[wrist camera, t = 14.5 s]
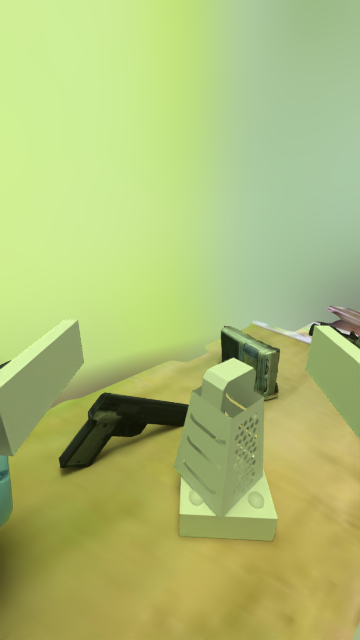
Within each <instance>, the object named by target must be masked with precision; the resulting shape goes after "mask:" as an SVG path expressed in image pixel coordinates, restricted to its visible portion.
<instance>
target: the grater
mask: <svg viewBox="0 0 360 640" xmlns="http://www.w3.org/2000/svg"><path fill="white" fill-rule="evenodd" d="M255 378H256V371H255V369H254V368H253V367H251V366H249V365H247V364H245V363H243V362H241V361H239V360H237V359H235V358H232V359H229V360H227V361H225V362H223V363H221V364H219V365H216V366H214V367H212V368H210V369H208V370H207V372H206V373H205V375H204V377H203V381H202V386H201V387H199V388H197V389H195V390H193V391H192V395H191V399H190V403H189V407H188V411H187V415H186V420H185V424H184V428H183V432H182V436H181V440H180V444H179V449H178V453H177V457H176V461H175V465H174V468H175V469H176V470H177V471H178V472H179V473H180V474H181V476H182V477H183V478H184V479H185V480H186V481H187V482H188V483H189V484H190V486H191V487H192V488H193V489H194V490H195V491H196V492H197V493H198V494H199V496H200V497H201V498H202V499H203V500H204V501H205V502H206V503H207V504H208V506H209V507H210V508H211V509H212V510H213V511H214V512H215V513H216V514H217V516H218V517H219V518H220V519H221V518H222V517H223V516H224V515H225V514H226V513H227V512H228V511H229V510H230V509H231V508H232V507H233V506H234V505H235V504H236V503H237V502H238V501H239V500H240V499H241V498H242V497H243V496H244V495H245V494H246V493H247V492H248V491H249V490H250V489H251V488H252V487H253V486H254V485H255V484H256V483H257V482H258V481H259V480H260V479H261V478H262V477H263V432H264V397H263V396H261V395H260V394H258V393H256V392H255V391H253V390H254V384H255ZM226 393H227V394H228V396H229V397H230V398H231V399H233V400H234V401H236V402H237V403H239V404H240V405H242V406H243V407H245V408H246V410H243V409H241V408H240V407H238V406H237V405H235V404H234V403H232V402H231V401H229V399H228V398H227V397H226ZM225 411H226V413H227V414H228V415H229V417H231V418H232V419H231V418H229V417H228V416H226V415H225ZM240 424H241V425H242V428H240V427H239V425H240ZM246 429H248V432H246ZM249 432H252V433H251V435H250V434H249ZM255 434H258V435H257V438H255V437H254V436H255ZM214 438H217V439H218V440H220V441H221V442H222V443H223V444H224V445H225V446H223V445H220V444H218V443H217V442H216V441H215V440H214ZM238 444H240V445H238ZM241 446H242V447H243V449H241V448H240V447H241ZM199 449H200V450H201V451H202V452H203V453H204V454H205V455H206V456H207V457H208V458H209V459H211V460H212V461H213V462H214V463H215V464H219V465H221V469H220V470H218V469H216V468H214V467H213V466H212V465H211V464H210V463H209V462H208V461H207V460H206V459H205V458H204V457H203V456H202V455H200V454H199V453H198V452H197V450H199ZM244 450H246V452H245V451H244ZM249 452H250V453H251V455H249ZM234 453H235V454H236V455H234ZM252 455H254V458H253V457H252ZM237 456H239V457H240V459H242V463H241V464H240V465H239V461H240V459H238V460H237ZM184 460H185V461H186V463H187V465H188V466H189V467H190V468H191V469H192V470H193V471H194V472H195V474H196V475H197V476H198V477H199V478H200V479H201V480H202V481H203V482H204V483H205V484H206V485H207V486H208V487H209V488H210V489H212V490H216V493H215V495H213V494H211V493H210V492H209V491H208V490H207V489H206V488H205V487H204V486H203V485H202V484H201V483H200V482H199V481H198V480H197V479H196V478H195V477H194V476H193V474H192V473H191V472H190V471H189V470H188V469H187V468H186V466H185V465H184V463H183V461H184ZM236 463H237V464H238V465H237V467H236V469H234V465H235V464H236ZM243 463H245V466H244V468H241V466H242V464H243ZM246 463H247V464H246ZM249 465H250V466H251V467H250V469H248V466H249ZM239 467H240V471H239V472H238V473H236V471H237V469H238V468H239ZM245 468H247V470H246V472H245V473H243V471H244V469H245ZM251 468H253V471H252V473H253V472H254V471H255V474H254V476H253V477H252V473H250V470H251ZM247 472H249V475H248V476H247V477H246V473H247ZM240 473H242V475H241V477H240V478H238V475H239V474H240ZM243 476H244V480H246V483H245V484H244V485H242V484H243V481H244V480H243V481H242V482H241V478H242V477H243ZM249 476H250V479H249V481H247V478H248V477H249ZM235 477H237V480H236V482H235V483H233V480H234V478H235ZM251 479H253V481H252V483H251V484H249V482H250V480H251ZM237 481H239V485H241V488H240V489H239V490H237V489H238V486H239V485H238V486H237V487H236V483H237ZM247 483H248V487H247V488H246V489H245V486H246V484H247ZM242 488H243V492H242V493H241V494H240V491H241V489H242ZM235 489H236V493H235V494H234V495H233V491H234V490H235ZM237 493H239V495H238V497H237V498H235V496H236V494H237Z"/></svg>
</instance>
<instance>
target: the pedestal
mask: <svg viewBox="0 0 360 640" xmlns="http://www.w3.org/2000/svg"><path fill="white" fill-rule="evenodd" d="M214 440H215V441H216V442H217V443H218V444H220V445H223V446H225V445H224V444H223V443H222V442H221V441H220V440H218V439H214ZM238 445H240V444H238ZM240 448H241V449H243V447H242V446H241V447H240ZM244 451H245V452H246V450H244ZM197 452H198V453H199V454H200V455H202V456H203V457H204V458H205V459H206V460H207V461H208V462H209V463H210V464H211V465H212V466H213V467H214V468H216V469H218V470H220V469H221V465H219V464H215V463H214V462H213V461H212V460H211V459H209V458H208V457H207V456H206V455H205V454H204V453H203V452H202V451H201V450H200V449H199V450H197ZM234 455H236V454H235V453H234ZM249 455H251V453H250V452H249ZM252 457H253V458H254V455H252ZM238 459H240V457H239V456H237V460H238ZM183 463H184V465H185V466H186V468H187V469H188V470H189V471H190V472H191V473H192V474H193V476H194V477H195V478H196V479H197V480H198V481H199V482H200V483H201V484H202V485H203V486H204V487H205V488H206V489H207V490H208V491H209V492H210V493H211V494H213V495H215V493H216V490H212V489H210V488H209V487H208V486H207V485H206V484H205V483H204V482H203V481H202V480H201V479H200V478H199V477H198V476H197V475H196V474H195V472H194V471H193V470H192V469H191V468H190V467H189V466H188V465H187V463H186V461H185V460H184V461H183ZM241 463H242V459H240V461H239V465H240V464H241ZM246 464H247V463H246ZM237 465H238V464H237V463H236V464H235V465H234V469H236V467H237ZM244 466H245V463H243V464H242V466H241V468H244ZM250 467H251V466H250V465H249V466H248V469H250ZM246 470H247V468H245V469H244V471H243V473H245V472H246ZM239 471H240V467H239V468H238V469H237V471H236V473H238V472H239ZM252 471H253V468H251V470H250V473H252ZM254 474H255V471H254V472H253V473H252V477H253V476H254ZM241 475H242V473H240V474H239V475H238V478H240V477H241ZM248 475H249V472H247V473H246V477H247V476H248ZM249 479H250V476H249V477H248V478H247V481H249ZM236 480H237V477H235V478H234V480H233V483H235V482H236ZM243 480H244V476H243V477H242V478H241V482H242V481H243ZM252 481H253V479H251V480H250V482H249V484H251V483H252ZM245 483H246V480H244V481H243V484H242V485H244V484H245ZM238 485H239V481H237V483H236V487H237V486H238ZM247 487H248V483H247V484H246V486H245V489H246V488H247ZM240 488H241V485H239V486H238V489H237V490H239V489H240ZM242 492H243V488H242V489H241V491H240V494H241V493H242ZM235 493H236V489H235V490H234V491H233V495H234V494H235ZM238 495H239V493H237V494H236V496H235V498H237V497H238ZM277 520H278V518H277V515H276V511H275V508H274V504H273V501H272V497H271V494H270V490H269V487H268V484H267V480H266V477H265V473H264V470H263V477H262V478H261V479H260V480H259V481H258V482H257V483H256V484H255V485H254V486H253V487H252V488H251V489H250V490H249V491H248V492H247V493H246V494H245V495H244V496H243V497H242V498H241V499H240V500H239V501H238V502H237V503H236V504H235V505H234V506H233V507H232V508H231V509H230V510H229V511H228V512H227V513H226V514H225V515H224V516H223V517H222V518H221V519H220V518H219V517H218V516H217V514H216V513H215V512H214V511H213V510H212V509H211V508H210V507H209V506H208V504H207V503H206V502H205V501H204V500H203V499H202V498H201V497H200V496H199V494H198V493H197V492H196V491H195V490H194V489H193V488H192V487H191V486H190V484H189V483H188V482H187V481H186V480H185V479H184V478H183V477H182V476H181V491H180V520H179V536H188V537H207V538H226V539H245V540H264V541H273V538H274V534H275V529H276V525H277Z"/></svg>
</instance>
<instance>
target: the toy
mask: <svg viewBox="0 0 360 640" xmlns="http://www.w3.org/2000/svg"><path fill="white" fill-rule="evenodd" d="M315 325H316V326H319V325H317V324H312V326H311V328H310V331H309V335H313V331H314V326H315ZM320 326H330V325H328V324H325V323H323V322H322V323H321V324H320ZM330 327H331V328H333V329H334V330H335V331H336V332H338V333H339V334H340V335H342V336H343V337H344V338H346V339H347V340H348V341H350V342H351V343H352V344H354V345H355V346H356V347H358V348H359V349H360V336H358V337H357V336H356V335H355V334H354V331H352V332H350V335H348V334H344V333H341V332H340V331H339V330H338V329H336V328H335V327H332V326H330Z"/></svg>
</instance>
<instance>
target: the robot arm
mask: <svg viewBox="0 0 360 640" xmlns="http://www.w3.org/2000/svg"><path fill="white" fill-rule="evenodd" d="M83 363H84V359H83V353H82V345H81V338H80V331H79V324H78V320H63V321H62V322H61V323H59V324H58V325H57V326H56V327H55V328H53V329H52V330H51V331H49V332H48V333H47V334H45V335H44V336H43V337H41V338H40V339H39V340H38V341H36V342H35V343H34V344H32V345H31V346H30V347H29V348H27V349H26V350H25V351H24V352H22V353H21V354H20V355H18V356H17V357H16V358H14V359H13V360H10V361H8V362H6V363H4V364H2V365H0V527H1V526H2V525H3V524H4V523H5V522H6V521H7V520H8V519H9V517H10V515H11V513H12V509H13V501H12V490H11V481H10V473H9V463H8V456H14V454H15V453H16V452H17V450H18V449H19V448H20V446H21V445H22V444H23V442H24V441H25V440H26V438H27V437H28V436H29V434H30V433H31V432H32V430H33V429H34V428H35V427H36V425H37V424H38V423H39V421H40V420H41V419H42V417H43V416H44V415H45V413H46V412H47V411H48V409H49V408H50V407H51V405H52V404H53V403H54V401H55V400H56V399H57V398H58V396H59V395H60V394H61V392H62V391H63V389H64V388H65V387H66V386H67V384H68V383H69V382H70V380H71V379H72V378H73V376H74V375H75V374H76V372H77V371H78V370H79V369H80V367H81V366H82V365H83ZM306 371H307V372H308V373H309V374H310V376H311V377H312V378H313V380H314V381H315V382H316V383H317V385H318V386H319V387H320V389H321V390H322V391H323V393H324V394H325V395H326V396H327V398H328V399H329V400H330V402H331V403H332V404H333V406H334V407H335V408H336V409H337V411H338V412H339V413H340V415H341V416H342V417H343V418H344V420H345V421H346V422H347V424H348V425H349V426H350V428H351V429H352V430H353V431H354V433H355V434H356V435H357V437H358V438H359V439H360V349H359V348H358V347H356V346H355V345H354V344H352V343H351V342H350V341H348V340H347V339H346V338H344V337H343V336H342V335H340V334H339V333H338V332H336V331H335V330H334V329H333V328H331V327H330V326H316V325H315V326H314V331H313V336H312V341H311V345H310V350H309V355H308V360H307V364H306Z"/></svg>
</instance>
